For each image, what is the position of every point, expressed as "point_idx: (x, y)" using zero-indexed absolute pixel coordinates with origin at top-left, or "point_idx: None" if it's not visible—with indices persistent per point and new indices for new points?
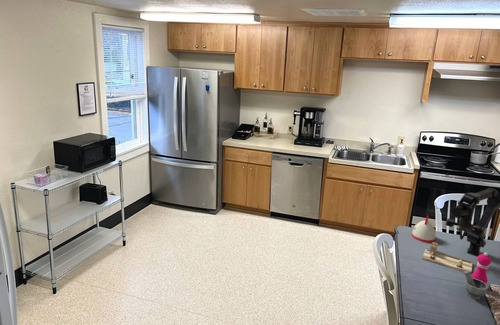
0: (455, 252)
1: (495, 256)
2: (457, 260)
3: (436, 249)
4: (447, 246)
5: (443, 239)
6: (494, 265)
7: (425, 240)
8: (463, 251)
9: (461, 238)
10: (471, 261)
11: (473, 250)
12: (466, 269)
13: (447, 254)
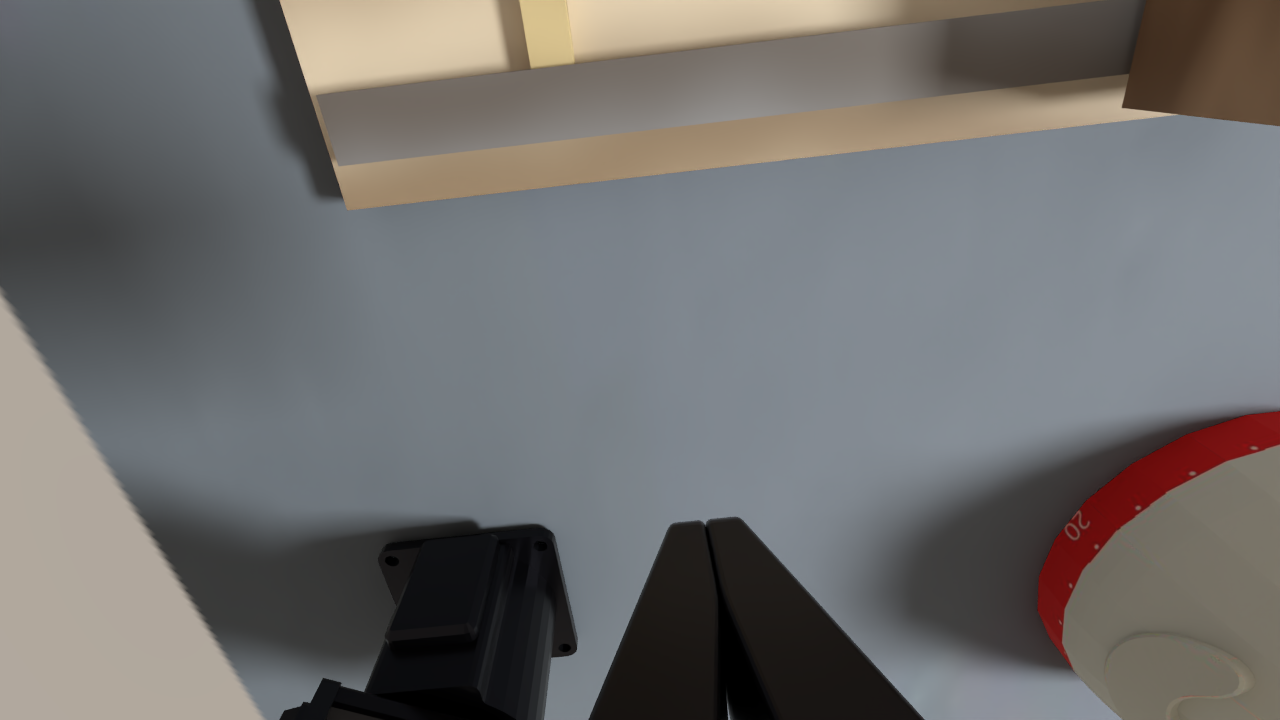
0: (709, 421)
1: (235, 674)
2: (608, 6)
3: (1137, 99)
4: (847, 526)
5: (911, 673)
6: (95, 422)
7: (1241, 447)
8: (610, 535)
9: (707, 554)
10: (338, 148)
11: (454, 584)
12: None
13: (856, 87)
